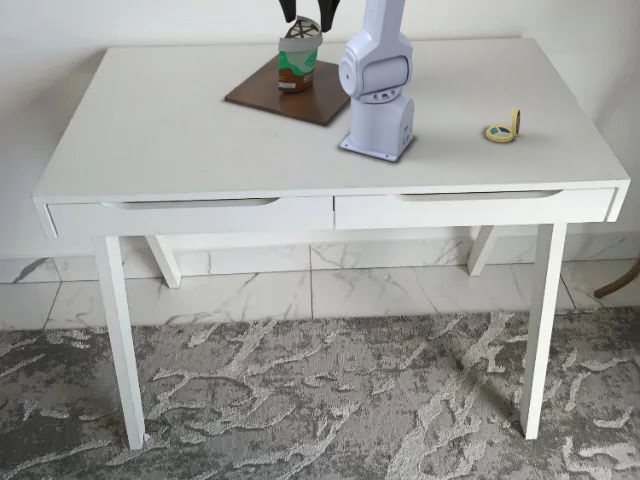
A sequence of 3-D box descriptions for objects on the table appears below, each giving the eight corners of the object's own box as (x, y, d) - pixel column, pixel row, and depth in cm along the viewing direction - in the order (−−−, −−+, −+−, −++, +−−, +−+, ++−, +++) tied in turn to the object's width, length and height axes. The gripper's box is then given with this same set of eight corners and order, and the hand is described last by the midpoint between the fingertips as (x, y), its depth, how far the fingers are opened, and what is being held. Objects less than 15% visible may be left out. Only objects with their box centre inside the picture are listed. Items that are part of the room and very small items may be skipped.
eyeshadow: (488, 125, 109) (493, 99, 106) (519, 131, 107) (525, 104, 104) (483, 139, 106) (488, 112, 103) (514, 145, 104) (520, 118, 101)
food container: (310, 100, 114) (314, 45, 108) (275, 94, 115) (278, 38, 108) (325, 72, 123) (330, 19, 117) (294, 66, 124) (297, 14, 118)
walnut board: (373, 76, 123) (373, 72, 122) (325, 126, 109) (325, 122, 109) (280, 55, 130) (280, 51, 129) (224, 100, 116) (224, 96, 116)
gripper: (255, -57, 107) (261, 24, 116) (329, -41, 101) (330, 43, 109) (281, -68, 111) (285, 11, 120) (354, -54, 105) (352, 28, 114)
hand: (308, 25), depth 115 cm, fingers open, 7 cm apart
